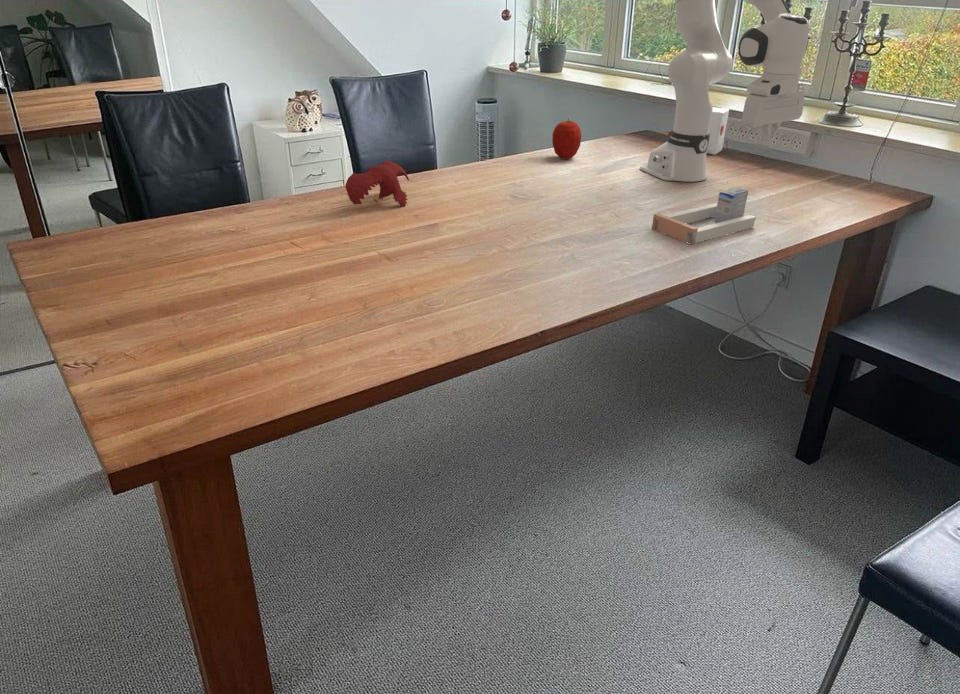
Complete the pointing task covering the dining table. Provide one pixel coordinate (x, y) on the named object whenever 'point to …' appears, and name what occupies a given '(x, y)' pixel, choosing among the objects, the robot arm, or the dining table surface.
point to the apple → (566, 139)
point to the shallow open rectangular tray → (690, 234)
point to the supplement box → (717, 130)
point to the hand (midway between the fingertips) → (768, 140)
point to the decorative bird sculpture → (377, 175)
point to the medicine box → (731, 204)
